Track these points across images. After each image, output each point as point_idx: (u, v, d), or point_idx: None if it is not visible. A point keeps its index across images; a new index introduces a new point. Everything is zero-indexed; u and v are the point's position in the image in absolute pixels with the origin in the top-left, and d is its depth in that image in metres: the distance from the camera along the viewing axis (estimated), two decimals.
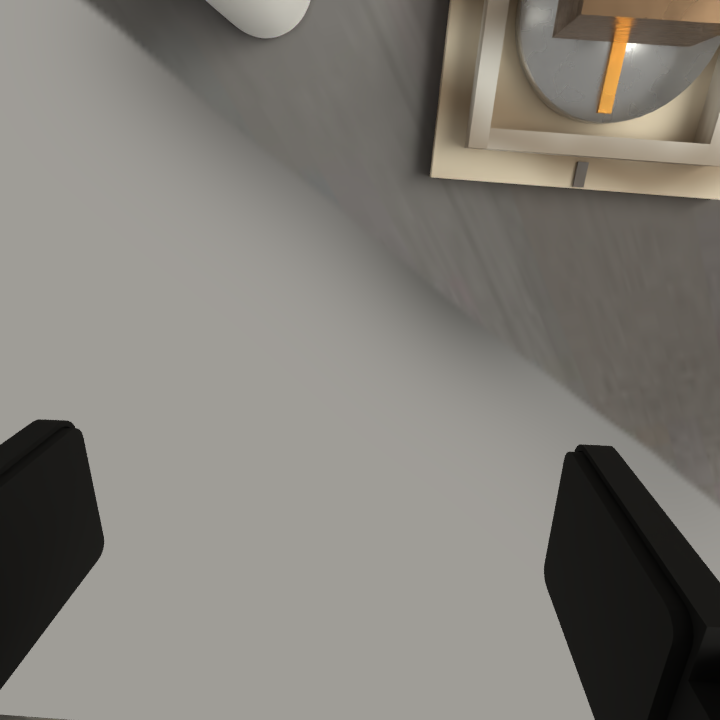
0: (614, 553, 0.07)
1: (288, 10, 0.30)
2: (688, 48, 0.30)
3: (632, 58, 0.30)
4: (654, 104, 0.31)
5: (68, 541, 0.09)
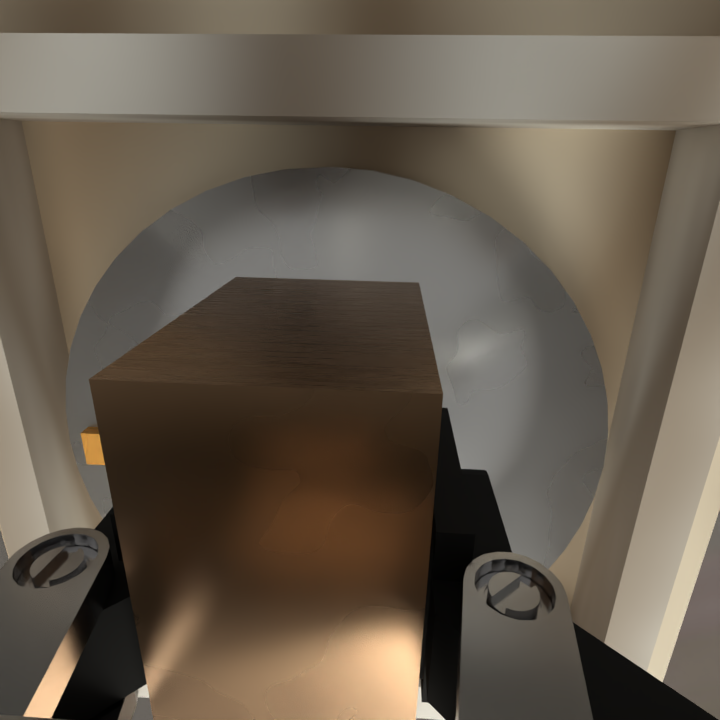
0: None
1: None
2: None
3: None
4: None
5: None
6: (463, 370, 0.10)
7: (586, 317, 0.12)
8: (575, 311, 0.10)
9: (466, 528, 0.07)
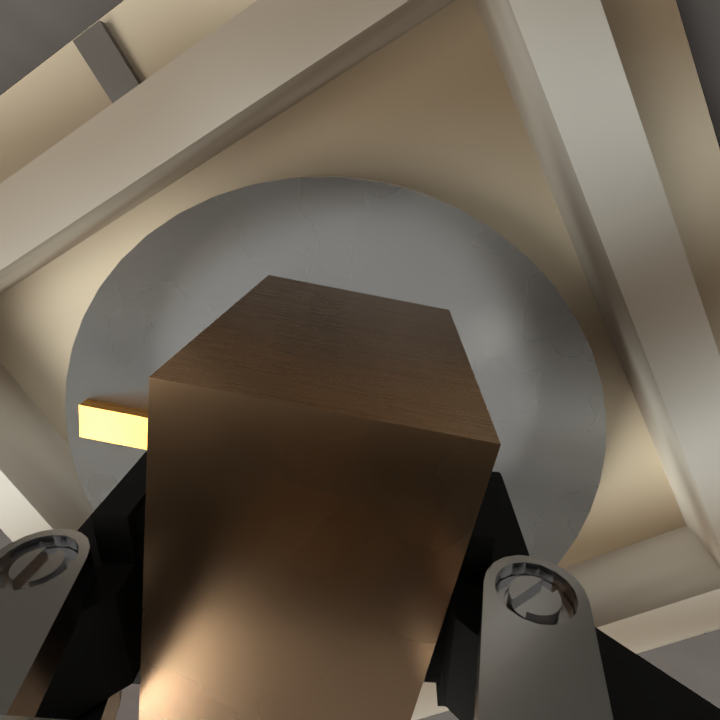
0: None
1: None
2: None
3: None
4: None
5: None
6: None
7: None
8: (591, 360, 0.10)
9: (485, 531, 0.07)
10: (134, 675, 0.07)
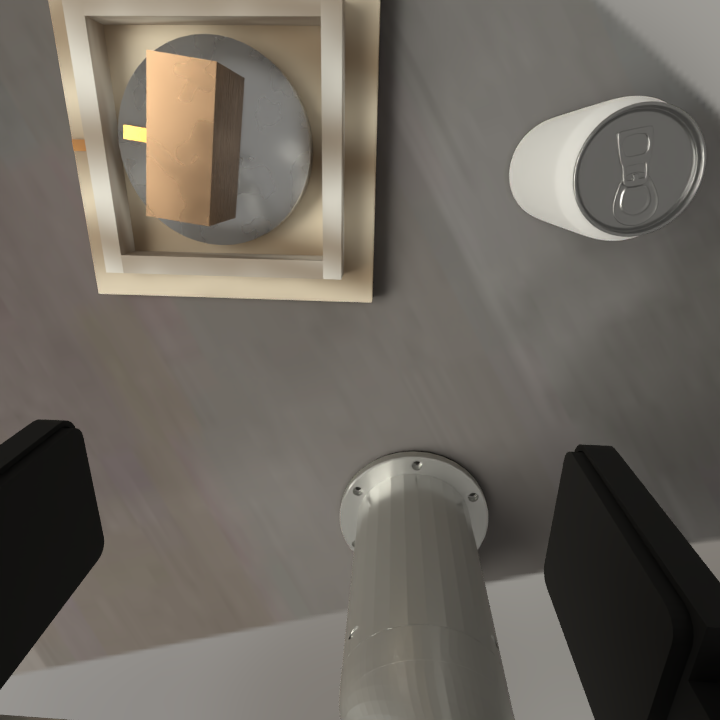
0: (614, 553, 0.07)
1: (542, 127, 0.29)
2: None
3: None
4: (137, 184, 0.32)
5: (68, 541, 0.09)
6: (260, 116, 0.30)
7: (270, 238, 0.35)
8: (296, 97, 0.30)
9: None
10: None
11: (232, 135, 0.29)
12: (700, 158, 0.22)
